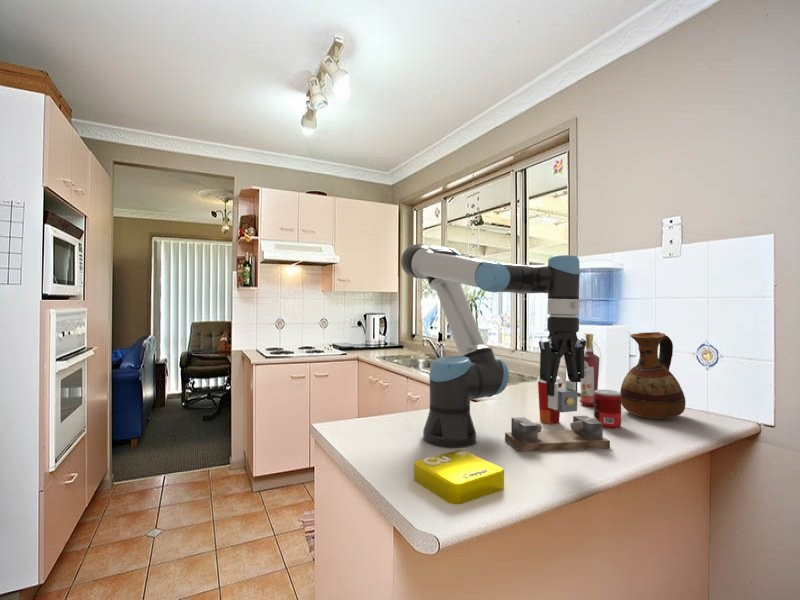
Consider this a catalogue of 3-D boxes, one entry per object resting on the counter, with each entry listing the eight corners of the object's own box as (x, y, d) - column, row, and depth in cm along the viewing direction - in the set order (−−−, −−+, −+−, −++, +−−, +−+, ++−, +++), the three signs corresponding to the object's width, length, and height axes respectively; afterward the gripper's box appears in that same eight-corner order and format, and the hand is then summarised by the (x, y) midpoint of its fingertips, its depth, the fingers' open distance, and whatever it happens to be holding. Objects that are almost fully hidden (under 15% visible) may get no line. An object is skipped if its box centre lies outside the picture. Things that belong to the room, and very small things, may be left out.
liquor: (603, 406, 160) (603, 334, 161) (591, 408, 157) (591, 334, 157) (586, 402, 167) (587, 333, 167) (574, 404, 163) (575, 333, 163)
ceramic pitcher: (608, 412, 152) (608, 330, 152) (641, 406, 161) (641, 329, 161) (663, 426, 134) (663, 334, 135) (697, 418, 144) (697, 332, 144)
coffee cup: (561, 419, 141) (561, 375, 141) (564, 426, 133) (564, 379, 133) (535, 417, 143) (535, 374, 144) (536, 424, 135) (537, 378, 136)
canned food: (626, 427, 133) (626, 393, 133) (608, 430, 130) (608, 395, 130) (606, 421, 140) (606, 388, 140) (588, 423, 137) (588, 390, 137)
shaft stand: (519, 451, 110) (519, 424, 110) (505, 439, 119) (505, 414, 120) (609, 448, 113) (610, 421, 113) (588, 436, 123) (588, 412, 123)
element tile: (454, 508, 79) (454, 483, 79) (410, 480, 92) (410, 458, 92) (508, 490, 88) (508, 467, 88) (461, 466, 100) (461, 446, 100)
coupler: (579, 411, 103) (579, 391, 103) (564, 413, 101) (564, 392, 101) (560, 405, 109) (560, 386, 109) (545, 406, 107) (545, 387, 107)
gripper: (545, 316, 98) (544, 414, 98) (601, 316, 105) (600, 408, 105) (524, 315, 105) (523, 406, 105) (578, 315, 112) (577, 401, 112)
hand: (561, 407), depth 105 cm, fingers closed on coupler, 5 cm apart
